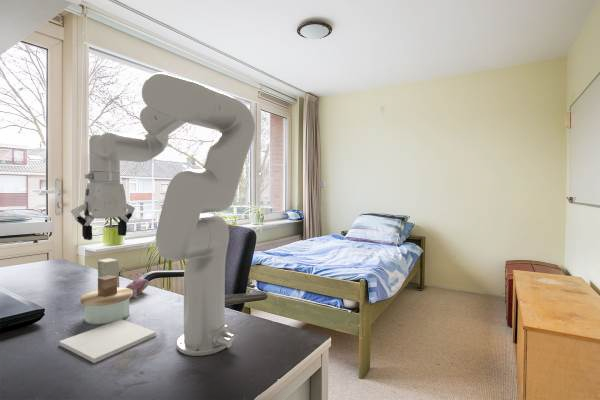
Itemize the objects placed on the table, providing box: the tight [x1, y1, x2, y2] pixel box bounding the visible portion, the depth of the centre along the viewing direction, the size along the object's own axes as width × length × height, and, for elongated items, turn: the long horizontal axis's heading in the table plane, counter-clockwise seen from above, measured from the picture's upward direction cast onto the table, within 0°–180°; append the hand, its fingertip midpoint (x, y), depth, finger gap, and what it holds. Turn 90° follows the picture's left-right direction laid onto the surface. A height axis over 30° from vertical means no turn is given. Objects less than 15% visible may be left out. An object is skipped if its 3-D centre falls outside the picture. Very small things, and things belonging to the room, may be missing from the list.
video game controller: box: [125, 277, 150, 298], centre depth 111 cm, size 10×5×7 cm, turn 168°
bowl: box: [84, 298, 130, 325], centre depth 93 cm, size 11×11×6 cm
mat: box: [59, 319, 157, 364], centre depth 79 cm, size 15×15×1 cm
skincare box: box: [97, 257, 120, 287], centre depth 112 cm, size 6×4×12 cm
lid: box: [80, 275, 133, 306], centre depth 93 cm, size 13×13×6 cm
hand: (105, 237), depth 94 cm, fingers open, 9 cm apart
